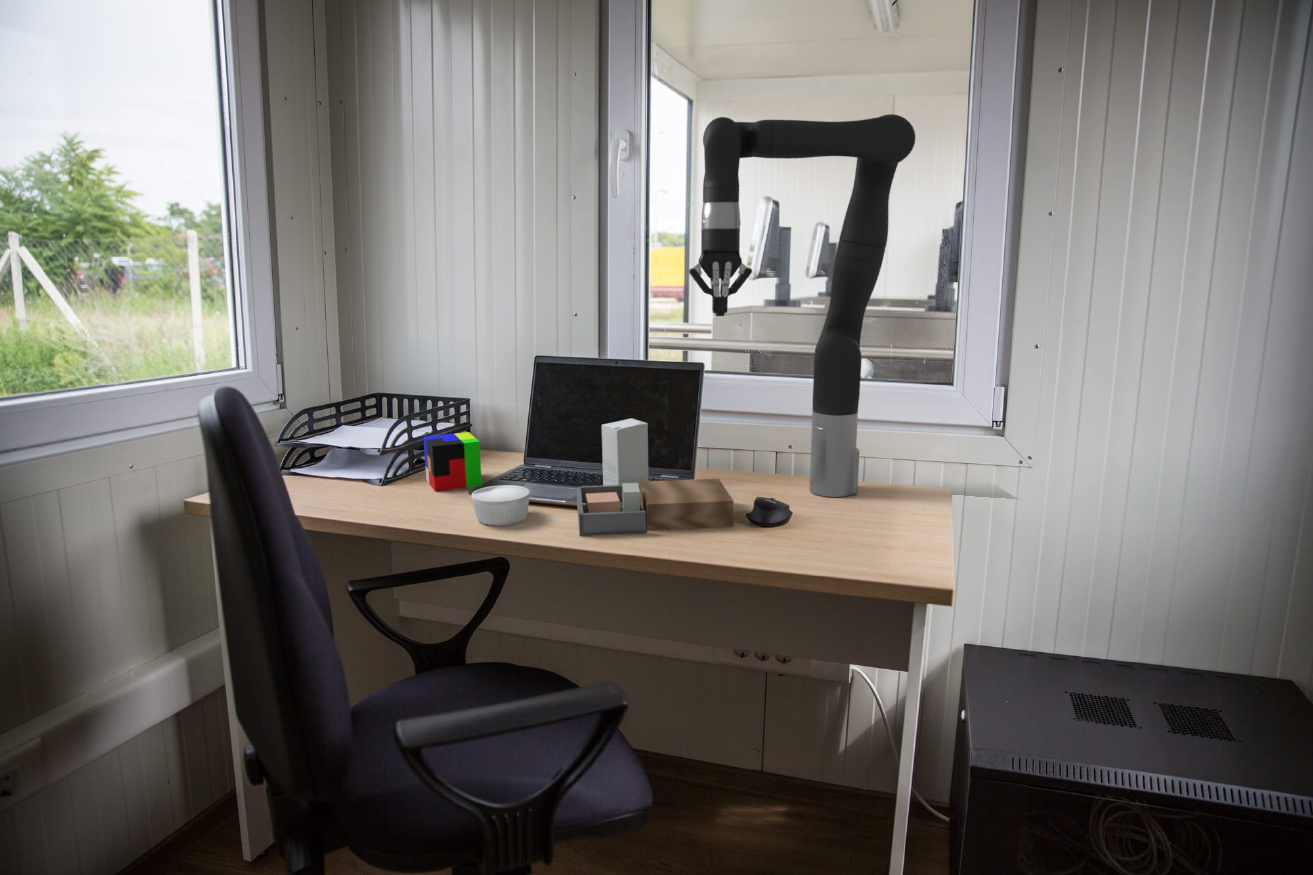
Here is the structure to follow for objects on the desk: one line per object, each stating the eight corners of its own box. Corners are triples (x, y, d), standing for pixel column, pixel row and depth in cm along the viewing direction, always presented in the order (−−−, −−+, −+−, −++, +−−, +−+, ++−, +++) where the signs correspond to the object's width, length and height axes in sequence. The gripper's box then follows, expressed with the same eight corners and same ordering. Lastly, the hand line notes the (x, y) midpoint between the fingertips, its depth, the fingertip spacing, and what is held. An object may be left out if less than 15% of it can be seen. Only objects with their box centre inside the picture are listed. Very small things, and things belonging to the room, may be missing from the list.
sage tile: (637, 482, 167) (622, 483, 167) (639, 491, 161) (623, 492, 161) (638, 512, 169) (622, 513, 168) (640, 522, 163) (624, 523, 163)
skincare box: (632, 484, 190) (631, 417, 186) (650, 490, 185) (649, 422, 182) (601, 491, 185) (600, 422, 181) (618, 498, 180) (617, 427, 177)
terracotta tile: (585, 493, 171) (585, 508, 172) (588, 502, 165) (588, 517, 166) (616, 492, 172) (616, 506, 172) (619, 501, 166) (620, 516, 167)
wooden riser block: (718, 502, 177) (718, 478, 176) (733, 526, 162) (733, 500, 161) (639, 505, 175) (639, 481, 174) (647, 530, 161) (647, 504, 159)
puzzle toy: (426, 480, 194) (423, 436, 192) (471, 475, 198) (468, 432, 196) (435, 492, 185) (432, 446, 183) (481, 486, 189) (479, 441, 187)
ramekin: (497, 506, 175) (495, 481, 174) (543, 514, 170) (542, 488, 169) (460, 523, 166) (458, 496, 164) (507, 531, 160) (506, 504, 159)
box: (636, 503, 176) (636, 484, 176) (645, 533, 159) (645, 512, 158) (577, 505, 175) (576, 486, 174) (579, 535, 158) (579, 514, 157)
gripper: (749, 226, 175) (748, 313, 179) (684, 227, 174) (684, 314, 178) (758, 226, 168) (756, 317, 172) (690, 226, 166) (689, 318, 170)
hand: (719, 315), depth 175 cm, fingers closed
